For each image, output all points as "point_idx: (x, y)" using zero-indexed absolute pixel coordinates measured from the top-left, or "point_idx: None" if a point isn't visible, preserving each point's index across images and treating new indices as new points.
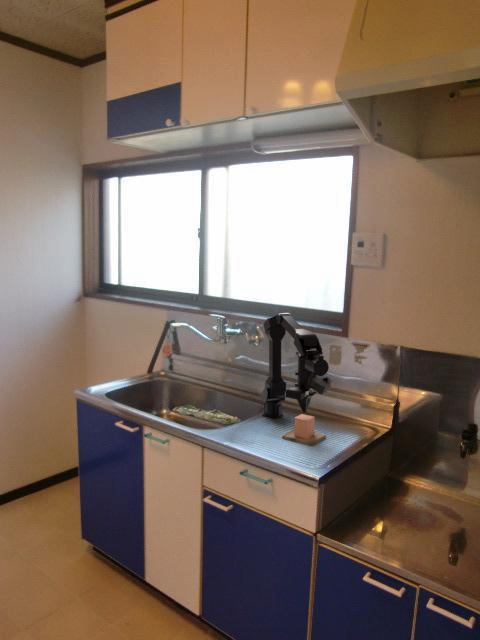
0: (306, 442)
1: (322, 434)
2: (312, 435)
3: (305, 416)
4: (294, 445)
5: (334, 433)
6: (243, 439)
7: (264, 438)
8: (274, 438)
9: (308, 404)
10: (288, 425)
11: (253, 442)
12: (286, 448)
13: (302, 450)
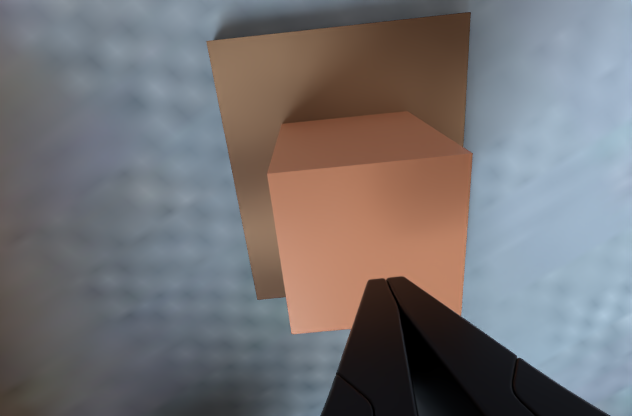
0: (465, 76)
1: (223, 68)
2: (309, 121)
3: (341, 260)
4: (523, 135)
5: (68, 33)
6: (588, 393)
7: (514, 334)
8: (480, 298)
9: (375, 354)
10: (227, 361)
11: (605, 339)
12: (606, 145)
13: (589, 26)
